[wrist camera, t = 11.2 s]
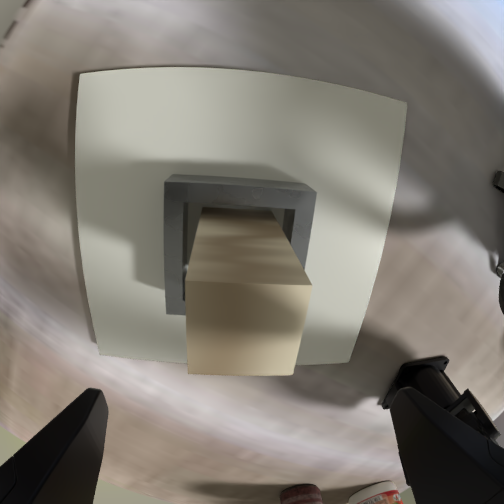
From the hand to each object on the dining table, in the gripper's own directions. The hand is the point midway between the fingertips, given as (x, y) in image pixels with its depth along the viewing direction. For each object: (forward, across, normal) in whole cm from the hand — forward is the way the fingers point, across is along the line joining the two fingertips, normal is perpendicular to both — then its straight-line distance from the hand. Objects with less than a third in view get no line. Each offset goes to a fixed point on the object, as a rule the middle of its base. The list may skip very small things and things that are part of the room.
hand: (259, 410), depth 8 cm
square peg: (+12, 0, -1) cm, 12 cm away
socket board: (+13, 0, -1) cm, 13 cm away
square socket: (+12, 0, -1) cm, 12 cm away
